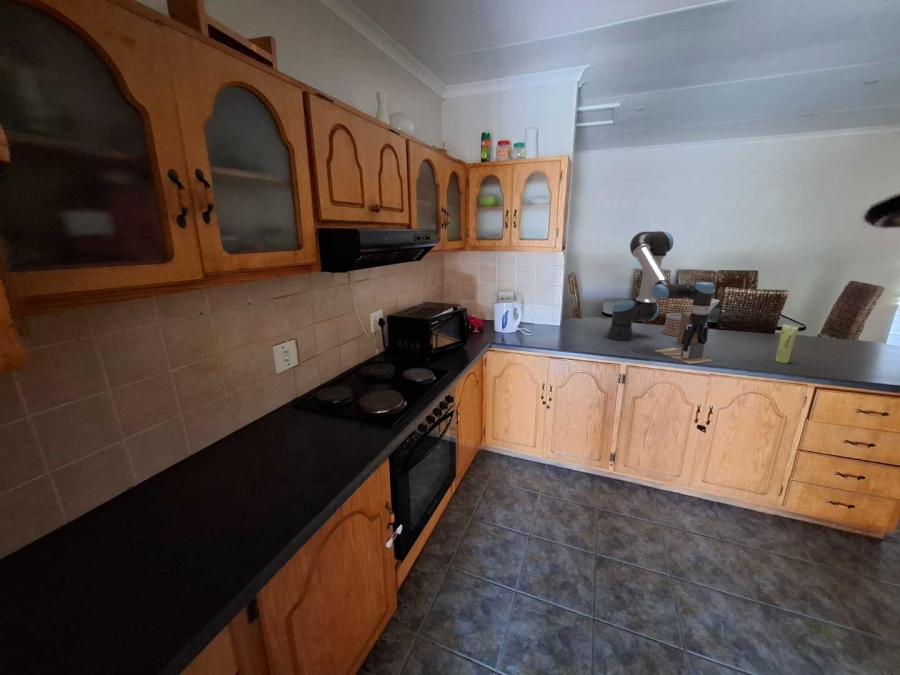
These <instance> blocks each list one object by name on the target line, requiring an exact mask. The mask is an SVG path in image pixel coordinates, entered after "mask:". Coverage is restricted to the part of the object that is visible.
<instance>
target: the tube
mask: <svg viewBox="0 0 900 675" xmlns="http://www.w3.org/2000/svg"><path fill="white" fill-rule="evenodd" d="M781 327H782V328H781V334H780V337H779V343H778V347H777V351H776V355H775V362H778V363H782V364H787V363H789V362H790V357H791V354H792V349H793V347H794V343H795V340H796V337H797V334H798V331H799V328H800V326H798V325H793V324H788V323H782V326H781Z"/></svg>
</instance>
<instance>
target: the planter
mask: <svg viewBox="0 0 900 675" xmlns="http://www.w3.org/2000/svg"><path fill="white" fill-rule="evenodd" d="M681 316H682V313H679V312H677V313H676V312H674V313H673V312H672V313H669V312H668V313H667V314H666V315H665V322H664V327H663V334H665V335H666V336H669V337H676V338H678V332H679V327H680V322H681Z"/></svg>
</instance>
